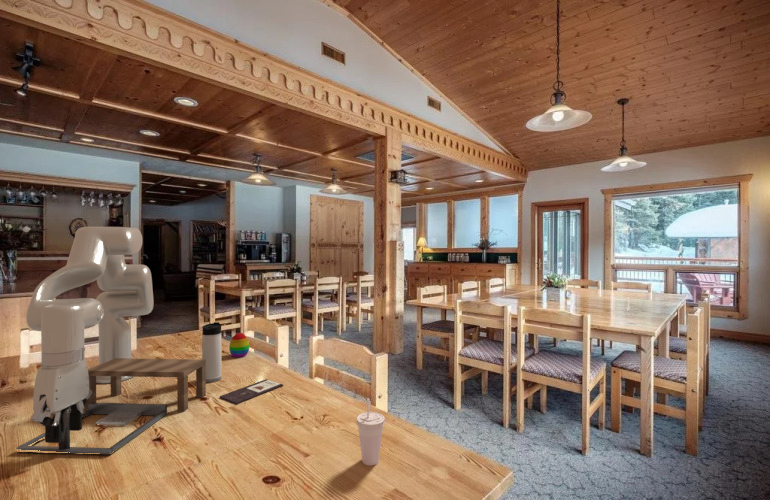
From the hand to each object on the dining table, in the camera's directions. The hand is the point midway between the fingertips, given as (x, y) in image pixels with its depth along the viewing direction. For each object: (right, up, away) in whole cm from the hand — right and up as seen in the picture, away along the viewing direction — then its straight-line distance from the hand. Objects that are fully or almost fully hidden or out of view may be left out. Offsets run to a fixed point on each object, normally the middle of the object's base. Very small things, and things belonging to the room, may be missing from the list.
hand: (64, 435), depth 86 cm
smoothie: (+71, -5, -2) cm, 71 cm away
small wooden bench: (+1, -4, +29) cm, 29 cm away
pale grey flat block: (+1, -5, +17) cm, 17 cm away
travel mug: (+12, -4, +48) cm, 50 cm away
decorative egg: (+10, -4, +77) cm, 78 cm away
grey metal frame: (0, -4, +10) cm, 11 cm away
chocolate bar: (+31, -5, +37) cm, 48 cm away
